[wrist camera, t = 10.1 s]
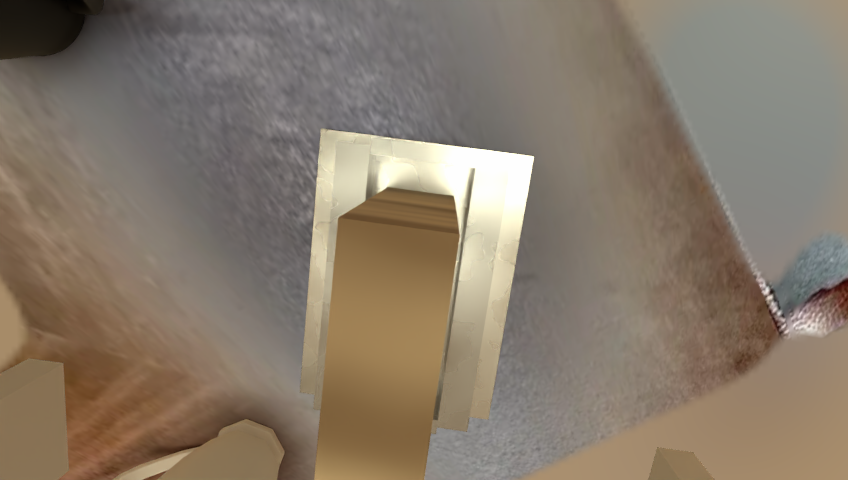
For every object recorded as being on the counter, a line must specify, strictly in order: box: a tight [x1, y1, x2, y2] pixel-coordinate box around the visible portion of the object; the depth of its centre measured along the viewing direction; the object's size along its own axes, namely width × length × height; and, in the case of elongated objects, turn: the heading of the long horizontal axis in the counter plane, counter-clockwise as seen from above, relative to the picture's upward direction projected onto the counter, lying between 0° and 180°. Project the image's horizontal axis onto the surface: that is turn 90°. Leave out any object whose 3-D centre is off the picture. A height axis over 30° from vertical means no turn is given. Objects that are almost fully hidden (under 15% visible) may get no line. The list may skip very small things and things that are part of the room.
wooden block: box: [314, 187, 460, 480], centre depth 19 cm, size 10×4×11 cm, turn 173°
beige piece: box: [300, 129, 534, 434], centre depth 24 cm, size 15×11×3 cm
